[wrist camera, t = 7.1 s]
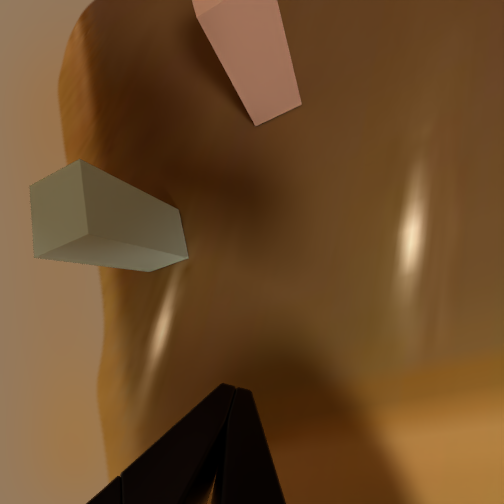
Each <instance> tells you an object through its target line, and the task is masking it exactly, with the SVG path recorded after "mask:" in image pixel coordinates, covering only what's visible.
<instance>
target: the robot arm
mask: <svg viewBox="0 0 504 504" xmlns="http://www.w3.org/2000/svg"><path fill="white" fill-rule="evenodd" d="M216 472H217V473H216ZM215 476H216V478H215ZM214 480H215V483H214ZM213 483H214V488H213V494H212V501H211V504H286V502H285V499H284V496H283V492H282V489H281V486H280V483H279V479H278V476H277V473H276V470H275V466H274V463H273V460H272V457H271V453H270V450H269V447H268V443H267V440H266V437H265V434H264V430H263V427H262V424H261V421H260V417H259V414H258V411H257V408H256V404H255V401H254V398H253V394H252V392H251V391H250V390H248V389H244V388H240V387H238V388H235V386H232V385H228V384H225V383H222V384H220V385H219V386H218V387H217V388H215V389H214V390H213V391H212V392H211V393H210V394H209V395H208V396H207V397H205V398H204V399H203V400H202V401H201V402H200V403H199V404H198V405H197V406H195V407H194V408H193V409H192V410H191V411H190V412H189V413H188V414H186V415H185V416H184V417H183V418H182V419H181V420H180V421H179V422H178V423H176V424H175V425H174V426H173V427H172V428H171V429H170V430H169V431H167V432H166V433H165V434H164V435H163V436H162V437H161V438H160V439H159V440H157V441H156V442H155V443H154V444H153V445H152V446H151V447H150V448H148V449H147V450H146V451H145V452H144V453H143V454H142V455H141V456H140V457H138V458H137V459H136V460H135V461H134V462H133V463H132V464H131V465H130V466H128V467H127V468H126V469H125V470H124V471H123V472H122V473H121V475H120V476H117V477H116V478H115V479H114V480H112V481H111V482H110V483H109V484H108V485H107V486H106V487H105V488H104V489H103V490H102V491H100V492H99V493H98V494H97V495H96V496H94V497H93V498H92V499H91V500H90V501H89V502H87V503H86V504H207V501H208V498H209V495H210V492H211V489H212V486H213Z"/></svg>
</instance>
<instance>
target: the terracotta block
mask: <svg viewBox="0 0 504 504" xmlns="http://www.w3.org/2000/svg"><path fill="white" fill-rule="evenodd" d="M192 2H193V6H194V10H195V13H196V17H197V19H198V21H199V23H200V25H201V27H202V28H203V30H204V32H205V34H206V36H207V38H208V39H209V41H210V43H211V45H212V47H213V49H214V51H215V52H216V54H217V56H218V58H219V60H220V62H221V63H222V65H223V67H224V69H225V71H226V73H227V75H228V76H229V78H230V80H231V82H232V84H233V86H234V87H235V89H236V91H237V93H238V95H239V97H240V99H241V100H242V102H243V104H244V106H245V108H246V110H247V112H248V113H249V115H250V117H251V119H252V121H253V123H254V124H255V126H257V125H259V124H262V123H264V122H266V121H268V120H270V119H272V118H274V117H276V116H278V115H281V114H283V113H285V112H287V111H289V110H291V109H293V108H295V107H297V106H300V105H302V103H301V99H300V95H299V91H298V86H297V82H296V78H295V74H294V70H293V65H292V61H291V57H290V53H289V49H288V44H287V40H286V36H285V32H284V28H283V23H282V19H281V15H280V11H279V7H278V2H277V0H192Z"/></svg>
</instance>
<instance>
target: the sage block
mask: <svg viewBox="0 0 504 504" xmlns="http://www.w3.org/2000/svg"><path fill="white" fill-rule="evenodd" d="M30 202H31V217H32V233H33V248H34V258H40V259H48V260H56V261H64V262H73V263H81V264H89V265H97V266H105V267H113V268H121V269H130V270H138V271H146V272H151V271H154V270H157V269H160V268H162V267H165V266H168V265H171V264H174V263H176V262H179V261H182V260H185V259H188V258H189V257H188V252H187V247H186V242H185V238H184V233H183V228H182V223H181V218H180V213H179V210H178V209H177V208H175V207H173V206H171V205H169V204H167V203H165V202H163V201H161V200H159V199H157V198H155V197H153V196H151V195H149V194H147V193H145V192H143V191H141V190H139V189H138V188H136V187H134V186H132V185H130V184H128V183H126V182H124V181H122V180H120V179H118V178H116V177H114V176H112V175H110V174H108V173H106V172H104V171H102V170H100V169H99V168H97V167H95V166H93V165H91V164H89V163H87V162H85V161H83V160H81V159H79V160H77V161H75V162H73V163H71V164H69V165H67V166H66V167H64V168H62V169H60V170H58V171H56V172H55V173H53V174H51V175H49V176H47V177H46V178H43V179H42V180H40V181H38V182H36V183H34V184H32V185H31V186H30Z"/></svg>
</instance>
